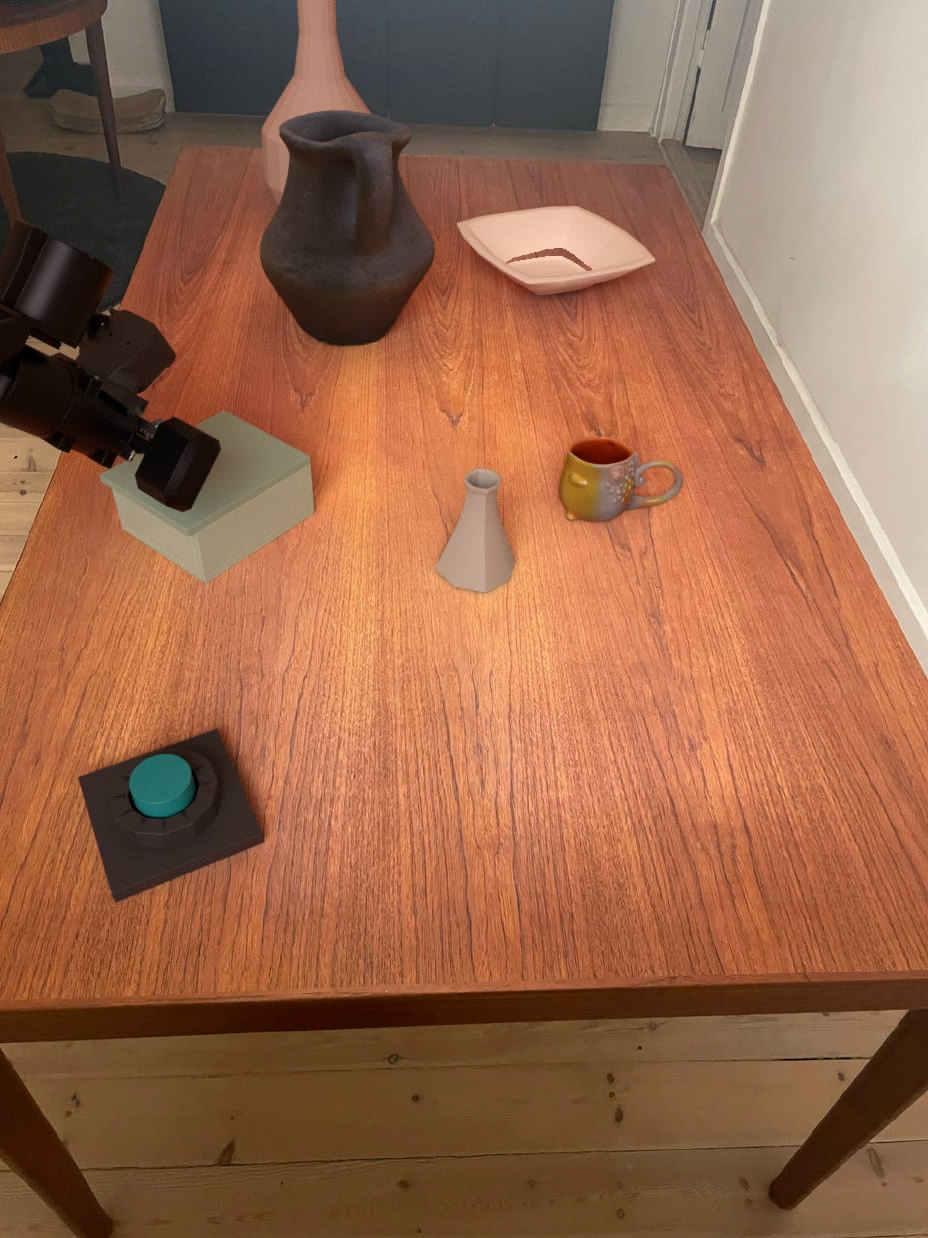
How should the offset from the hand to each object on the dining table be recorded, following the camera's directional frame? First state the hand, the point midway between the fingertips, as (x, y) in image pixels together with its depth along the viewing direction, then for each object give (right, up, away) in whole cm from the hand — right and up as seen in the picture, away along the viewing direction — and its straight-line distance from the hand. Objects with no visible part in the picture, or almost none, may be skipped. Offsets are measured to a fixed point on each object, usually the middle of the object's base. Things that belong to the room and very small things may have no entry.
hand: (188, 459), depth 79 cm
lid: (+1, -1, +3) cm, 3 cm away
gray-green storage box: (+1, -5, +7) cm, 8 cm away
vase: (+3, +46, +59) cm, 75 cm away
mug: (+39, -3, +12) cm, 41 cm away
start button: (+4, -26, -18) cm, 32 cm away
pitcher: (+10, +23, +36) cm, 43 cm away
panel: (+4, -28, -16) cm, 32 cm away
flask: (+25, -9, +5) cm, 27 cm away
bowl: (+36, +34, +49) cm, 70 cm away
